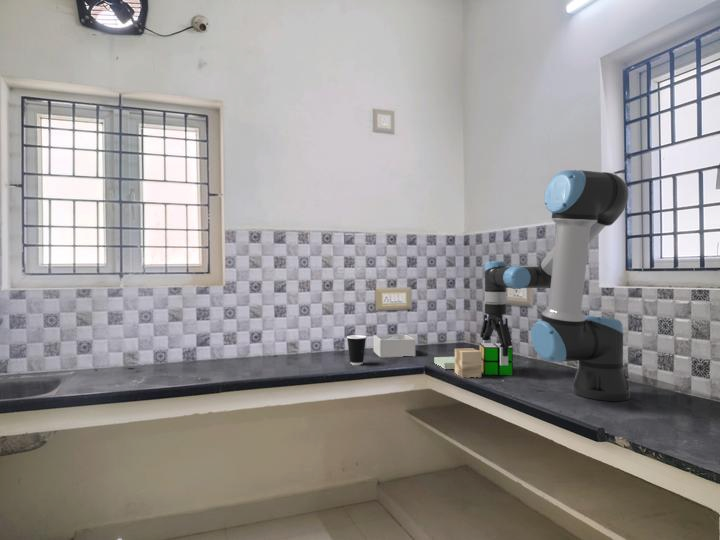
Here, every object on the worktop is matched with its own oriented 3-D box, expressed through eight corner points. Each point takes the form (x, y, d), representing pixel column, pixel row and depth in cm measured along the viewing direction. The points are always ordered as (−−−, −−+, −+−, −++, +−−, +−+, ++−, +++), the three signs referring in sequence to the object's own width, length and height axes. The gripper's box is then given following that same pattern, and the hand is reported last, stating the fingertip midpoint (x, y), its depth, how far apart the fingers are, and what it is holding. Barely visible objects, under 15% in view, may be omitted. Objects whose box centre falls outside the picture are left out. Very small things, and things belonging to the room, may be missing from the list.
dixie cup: (368, 365, 173) (368, 337, 173) (349, 366, 171) (349, 338, 171) (363, 361, 181) (363, 334, 181) (344, 362, 179) (344, 335, 179)
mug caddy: (415, 356, 192) (415, 339, 192) (380, 357, 190) (380, 340, 190) (406, 350, 208) (405, 334, 208) (373, 351, 205) (373, 335, 205)
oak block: (481, 377, 153) (481, 351, 153) (462, 378, 152) (462, 352, 152) (473, 373, 160) (473, 348, 160) (454, 373, 159) (454, 348, 159)
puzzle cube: (506, 369, 165) (506, 343, 165) (513, 376, 155) (513, 347, 155) (479, 369, 166) (479, 342, 166) (484, 375, 156) (484, 347, 156)
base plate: (474, 368, 167) (474, 362, 167) (444, 369, 165) (444, 363, 165) (462, 362, 179) (462, 356, 179) (434, 363, 177) (434, 357, 177)
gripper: (522, 306, 149) (522, 368, 149) (489, 300, 174) (489, 354, 174) (501, 306, 148) (501, 369, 148) (471, 300, 173) (471, 354, 173)
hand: (495, 361), depth 161 cm, fingers open, 13 cm apart
